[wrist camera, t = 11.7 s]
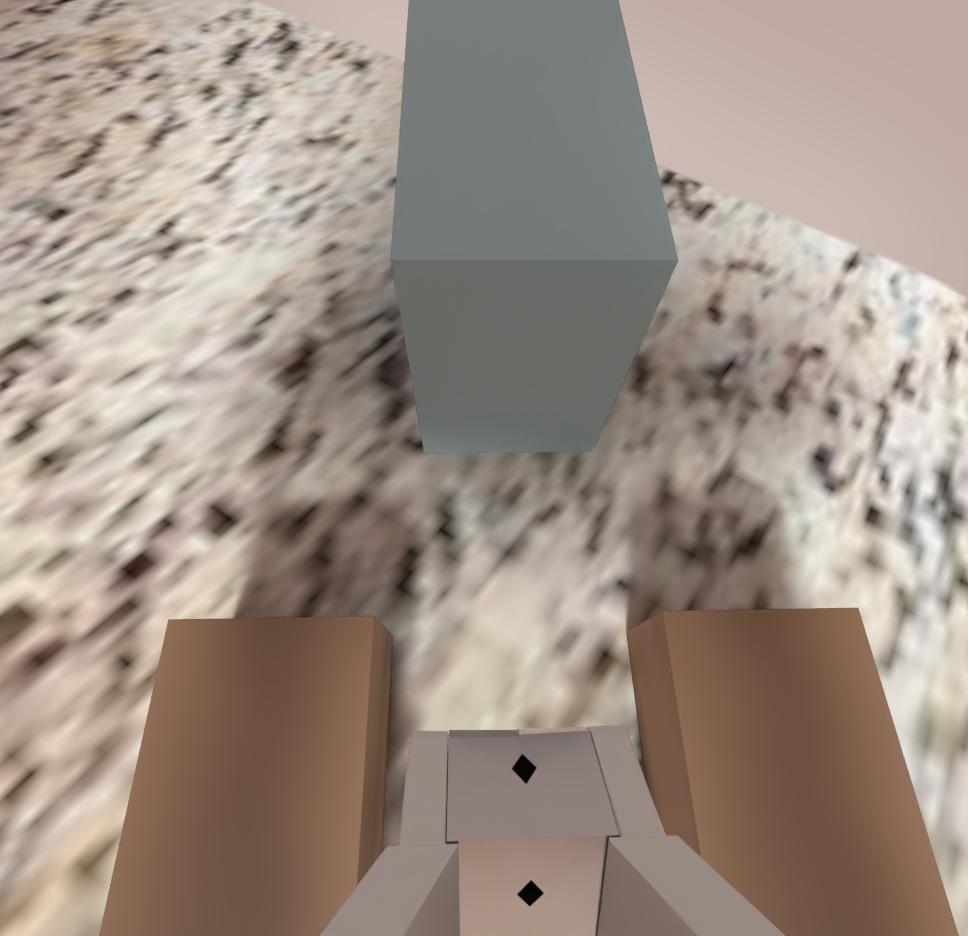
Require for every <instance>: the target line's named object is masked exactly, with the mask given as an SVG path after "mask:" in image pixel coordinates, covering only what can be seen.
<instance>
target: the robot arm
mask: <svg viewBox="0 0 968 936" xmlns="http://www.w3.org/2000/svg"><path fill="white" fill-rule="evenodd" d="M320 936H785V935H784V934H783V933H782V932H781V931H780V930H779V929H778V928H777V927H776V926H775V925H774V924H772V923H771V922H770V921H769V920H768V919H767V918H766V917H765V916H764V915H763V914H762V913H761V912H760V911H758V910H757V909H756V908H755V907H754V906H753V905H752V904H751V903H750V902H749V901H748V900H747V899H746V898H744V897H743V896H742V895H741V894H740V893H739V892H738V891H737V890H736V889H735V888H734V887H733V886H732V885H730V884H729V883H728V882H727V881H726V880H725V879H724V878H723V877H722V876H721V875H720V874H719V873H718V872H717V871H715V870H714V869H713V868H712V867H711V866H710V865H709V864H708V863H707V862H706V861H705V860H704V859H703V858H701V857H700V856H699V855H698V854H697V853H696V852H695V851H694V850H693V849H692V848H691V847H690V846H689V845H687V844H686V843H685V842H684V841H683V840H682V839H681V838H680V837H679V836H678V835H666V834H665V831H664V829H663V826H662V823H661V821H660V818H659V815H658V813H657V810H656V807H655V805H654V802H653V799H652V797H651V794H650V791H649V789H648V786H647V783H646V781H645V778H644V775H643V773H642V770H641V767H640V765H639V762H638V759H637V757H636V754H635V751H634V749H633V746H632V743H631V741H630V738H629V735H628V733H627V731H626V729H625V728H624V727H623V726H622V725H618V726H593V727H587V728H585V727H567V728H542V729H517V730H449V735H448V731H413V732H412V735H411V738H410V743H409V752H408V761H407V771H406V780H405V789H404V799H403V808H402V817H401V827H400V836H399V845H397V846H386V848H385V849H384V850H383V852H382V853H381V854H380V856H379V857H378V858H377V860H376V861H375V862H374V864H373V865H372V866H371V868H370V869H369V870H368V872H367V873H366V874H365V876H364V877H363V878H362V880H361V881H360V882H359V884H358V885H357V886H356V888H355V889H354V890H353V892H352V893H351V895H350V896H349V897H348V899H347V900H346V901H345V903H344V904H343V905H342V907H341V908H340V909H339V911H338V912H337V913H336V915H335V916H334V917H333V919H332V920H331V921H330V923H329V924H328V925H327V927H326V928H325V929H324V931H323V932H322V933H321V935H320Z"/></svg>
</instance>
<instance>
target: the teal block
mask: <svg viewBox="0 0 968 936" xmlns="http://www.w3.org/2000/svg"><path fill="white" fill-rule="evenodd" d="M677 262H678V258H677V253H676V249H675V245H674V240H673V236H672V232H671V227H670V223H669V219H668V214H667V210H666V205H665V201H664V197H663V192H662V188H661V184H660V179H659V175H658V171H657V166H656V162H655V158H654V153H653V149H652V144H651V141H650V136H649V131H648V127H647V123H646V118H645V115H644V110H643V105H642V101H641V97H640V92H639V88H638V83H637V80H636V75H635V71H634V67H633V62H632V57H631V53H630V49H629V44H628V40H627V36H626V31H625V27H624V23H623V18H622V14H621V10H620V5H619V1H618V0H409V7H408V21H407V36H406V50H405V64H404V78H403V92H402V107H401V121H400V135H399V149H398V163H397V177H396V192H395V206H394V220H393V234H392V248H391V264H392V270H393V276H394V282H395V287H396V293H397V299H398V305H399V310H400V316H401V322H402V328H403V334H404V339H405V345H406V351H407V357H408V362H409V368H410V374H411V380H412V385H413V391H414V397H415V403H416V408H417V414H418V420H419V426H420V431H421V437H422V443H423V449H424V453H510V452H592V451H593V449H594V447H595V444H596V442H597V440H598V438H599V436H600V433H601V431H602V429H603V427H604V424H605V422H606V420H607V418H608V415H609V413H610V411H611V409H612V407H613V404H614V402H615V400H616V398H617V395H618V393H619V391H620V389H621V386H622V384H623V382H624V380H625V378H626V375H627V373H628V371H629V369H630V366H631V364H632V362H633V360H634V357H635V355H636V353H637V351H638V349H639V346H640V344H641V342H642V340H643V337H644V335H645V333H646V331H647V328H648V326H649V324H650V322H651V320H652V317H653V315H654V313H655V311H656V308H657V306H658V304H659V302H660V299H661V297H662V295H663V293H664V291H665V288H666V286H667V284H668V282H669V279H670V277H671V275H672V273H673V271H674V268H675V266H676V264H677Z"/></svg>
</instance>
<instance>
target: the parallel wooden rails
mask: <svg viewBox="0 0 968 936" xmlns="http://www.w3.org/2000/svg"><path fill="white" fill-rule="evenodd" d="M392 638H393V636H392V635H391V634H390V633H389V632H388V631H387V630H386V629H385V627H384V626H383V625H382V624H381V623H380V622H379V621H378V620H377V619H376V618H375V617H374V616H350V617H292V618H234V619H175V620H168V624H167V629H166V633H165V638H164V642H163V647H162V651H161V656H160V661H159V665H158V670H157V674H156V679H155V683H154V688H153V692H152V697H151V702H150V706H149V711H148V715H147V720H146V724H145V729H144V734H143V738H142V743H141V747H140V752H139V756H138V761H137V766H136V770H135V775H134V779H133V784H132V788H131V793H130V798H129V802H128V807H127V811H126V816H125V820H124V825H123V829H122V834H121V839H120V843H119V848H118V852H117V857H116V861H115V866H114V871H113V875H112V880H111V884H110V889H109V893H108V898H107V903H106V907H105V912H104V916H103V921H102V925H101V930H100V935H99V936H320V935H321V933H322V932H323V931H324V929H325V928H326V927H327V925H328V924H329V923H330V921H331V920H332V919H333V917H334V916H335V915H336V913H337V912H338V911H339V909H340V908H341V907H342V905H343V904H344V903H345V901H346V900H347V899H348V897H349V896H350V895H351V893H352V892H353V890H354V889H355V888H356V886H357V885H358V884H359V882H360V881H361V880H362V878H363V877H364V876H365V874H366V873H367V872H368V870H369V869H370V868H371V866H372V865H373V864H374V862H375V861H376V860H377V858H378V857H379V856H380V854H381V853H382V844H383V823H384V803H385V782H386V761H387V741H388V720H389V700H390V679H391V658H392ZM627 639H628V647H629V655H630V663H631V671H632V679H633V687H634V695H635V702H636V710H637V718H638V726H639V734H640V742H641V750H642V758H643V766H644V773H645V781H646V783H647V786H648V789H649V791H650V794H651V797H652V799H653V802H654V805H655V807H656V810H657V813H658V815H659V818H660V821H661V823H662V826H663V829H664V831H665V834H666V835H678V836H679V837H680V838H681V839H682V840H683V841H684V842H685V843H686V844H687V845H689V846H690V847H691V848H692V849H693V850H694V851H695V852H696V853H697V854H698V855H699V856H700V857H701V858H703V859H704V860H705V861H706V862H707V863H708V864H709V865H710V866H711V867H712V868H713V869H714V870H715V871H717V872H718V873H719V874H720V875H721V876H722V877H723V878H724V879H725V880H726V881H727V882H728V883H729V884H730V885H732V886H733V887H734V888H735V889H736V890H737V891H738V892H739V893H740V894H741V895H742V896H743V897H744V898H746V899H747V900H748V901H749V902H750V903H751V904H752V905H753V906H754V907H755V908H756V909H757V910H758V911H760V912H761V913H762V914H763V915H764V916H765V917H766V918H767V919H768V920H769V921H770V922H771V923H772V924H774V925H775V926H776V927H777V928H778V929H779V930H780V931H781V932H782V933H783V934H784V935H785V936H959V935H958V932H957V929H956V926H955V922H954V919H953V916H952V913H951V909H950V906H949V903H948V899H947V896H946V893H945V890H944V886H943V883H942V880H941V877H940V873H939V870H938V867H937V864H936V860H935V857H934V854H933V850H932V847H931V844H930V841H929V837H928V834H927V831H926V828H925V824H924V821H923V818H922V815H921V811H920V808H919V805H918V802H917V798H916V795H915V792H914V788H913V785H912V782H911V779H910V775H909V772H908V769H907V766H906V762H905V759H904V756H903V753H902V749H901V746H900V743H899V739H898V736H897V733H896V730H895V726H894V723H893V720H892V717H891V713H890V710H889V707H888V704H887V700H886V697H885V694H884V690H883V687H882V684H881V681H880V677H879V674H878V671H877V668H876V664H875V661H874V658H873V655H872V651H871V648H870V645H869V642H868V638H867V635H866V632H865V628H864V625H863V622H862V619H861V615H860V612H859V609H858V608H814V609H756V610H698V611H662V612H660V613H658V614H657V615H655V616H653V617H652V618H650V619H648V620H646V621H645V622H643V623H641V624H639V625H638V626H636V627H634V628H633V629H631V630H629V631H627Z"/></svg>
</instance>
